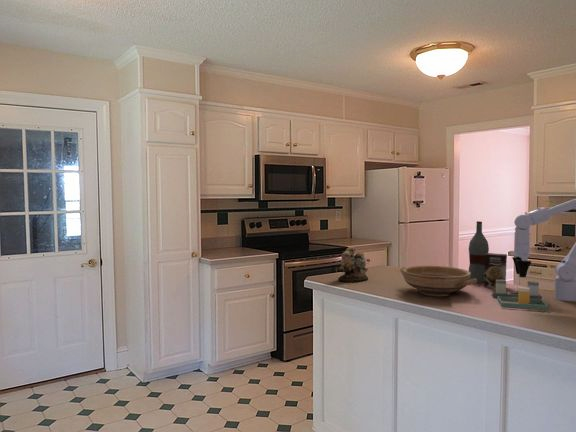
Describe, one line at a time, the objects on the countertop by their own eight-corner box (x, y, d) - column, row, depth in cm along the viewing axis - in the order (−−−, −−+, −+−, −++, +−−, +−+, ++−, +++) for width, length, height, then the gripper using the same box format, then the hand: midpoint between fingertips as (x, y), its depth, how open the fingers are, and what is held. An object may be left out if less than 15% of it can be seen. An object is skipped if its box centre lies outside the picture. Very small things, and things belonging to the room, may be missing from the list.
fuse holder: (539, 300, 191) (539, 293, 190) (543, 303, 184) (543, 296, 184) (491, 297, 196) (491, 290, 196) (493, 300, 190) (493, 293, 189)
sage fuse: (504, 296, 192) (505, 280, 192) (505, 297, 190) (506, 281, 190) (495, 296, 193) (495, 279, 193) (496, 297, 191) (496, 280, 191)
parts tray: (541, 305, 182) (541, 298, 182) (548, 312, 171) (548, 305, 171) (497, 302, 187) (497, 296, 187) (501, 309, 176) (501, 302, 176)
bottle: (481, 284, 221) (482, 222, 220) (464, 281, 229) (465, 221, 227) (491, 282, 227) (493, 221, 225) (474, 279, 234) (476, 220, 233)
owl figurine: (347, 284, 223) (347, 249, 222) (331, 280, 233) (331, 247, 232) (373, 279, 234) (373, 246, 233) (357, 276, 243) (357, 244, 242)
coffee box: (483, 289, 212) (484, 254, 211) (484, 286, 218) (485, 252, 217) (505, 291, 208) (506, 255, 207) (506, 288, 213) (507, 253, 212)
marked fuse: (528, 305, 179) (528, 287, 179) (529, 306, 177) (529, 288, 177) (517, 304, 181) (518, 286, 180) (518, 306, 178) (519, 288, 178)
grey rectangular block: (536, 298, 189) (537, 281, 188) (538, 299, 187) (538, 282, 186) (527, 298, 190) (527, 281, 190) (528, 299, 188) (528, 282, 187)
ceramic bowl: (493, 296, 197) (493, 273, 197) (455, 306, 180) (455, 281, 179) (420, 282, 227) (421, 262, 226) (382, 290, 209) (382, 268, 209)
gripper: (508, 241, 202) (507, 272, 203) (514, 245, 188) (513, 278, 189) (526, 241, 200) (525, 272, 201) (533, 245, 186) (532, 279, 187)
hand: (521, 275), depth 195 cm, fingers open, 7 cm apart
